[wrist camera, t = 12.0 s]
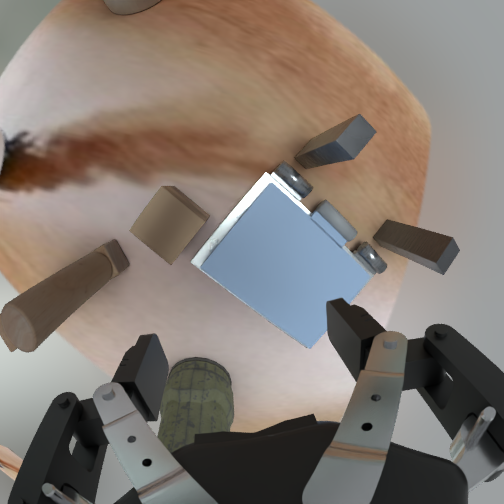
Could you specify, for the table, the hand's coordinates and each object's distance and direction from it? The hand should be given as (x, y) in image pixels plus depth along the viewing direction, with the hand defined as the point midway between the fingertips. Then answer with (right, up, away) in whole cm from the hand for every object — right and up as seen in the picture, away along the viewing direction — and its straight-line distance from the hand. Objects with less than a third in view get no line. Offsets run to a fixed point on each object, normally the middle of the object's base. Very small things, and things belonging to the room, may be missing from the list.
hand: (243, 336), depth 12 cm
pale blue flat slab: (+5, +3, +17) cm, 18 cm away
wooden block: (-19, +2, +17) cm, 26 cm away
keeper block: (-8, +7, +17) cm, 20 cm away
